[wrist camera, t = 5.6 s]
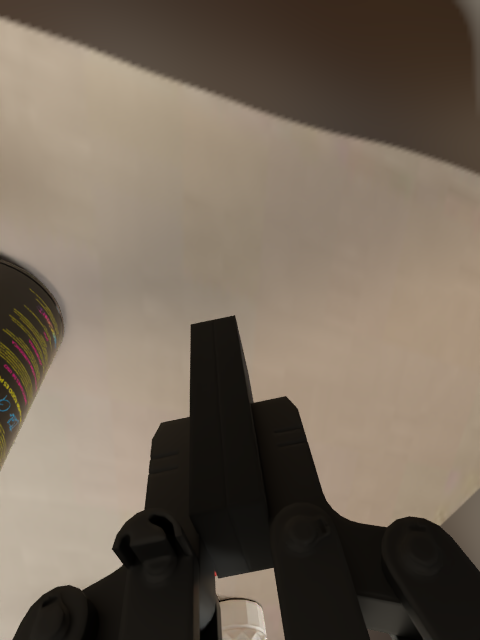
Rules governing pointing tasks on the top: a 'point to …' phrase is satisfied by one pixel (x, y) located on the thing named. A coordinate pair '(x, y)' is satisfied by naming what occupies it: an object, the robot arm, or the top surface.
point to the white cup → (242, 620)
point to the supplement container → (23, 346)
